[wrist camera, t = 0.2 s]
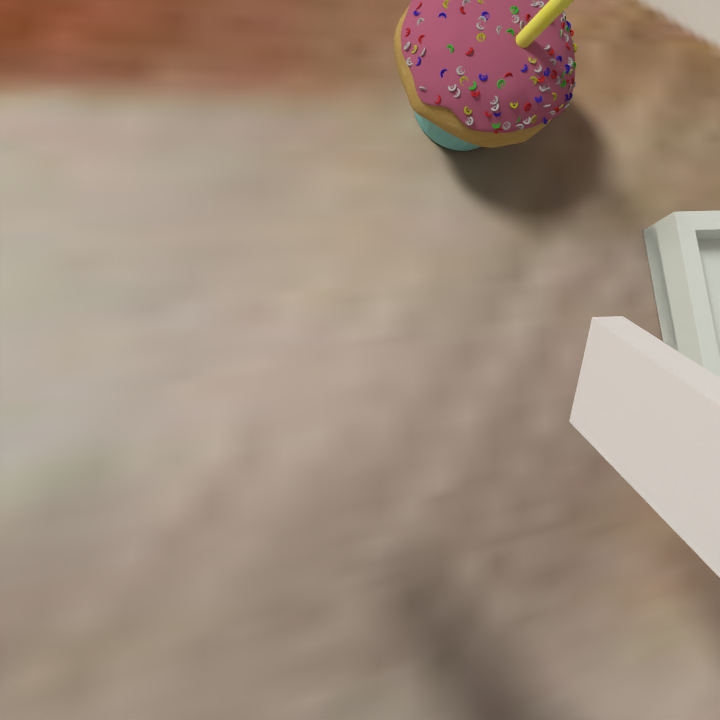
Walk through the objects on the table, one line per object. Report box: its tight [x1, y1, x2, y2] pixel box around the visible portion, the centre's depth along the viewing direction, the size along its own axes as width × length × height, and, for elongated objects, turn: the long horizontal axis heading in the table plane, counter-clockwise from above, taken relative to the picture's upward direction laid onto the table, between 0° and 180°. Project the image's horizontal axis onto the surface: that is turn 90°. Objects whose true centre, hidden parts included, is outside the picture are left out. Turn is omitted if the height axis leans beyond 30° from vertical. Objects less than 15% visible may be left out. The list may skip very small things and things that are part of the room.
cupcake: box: [394, 0, 577, 151], centre depth 27 cm, size 9×8×12 cm
